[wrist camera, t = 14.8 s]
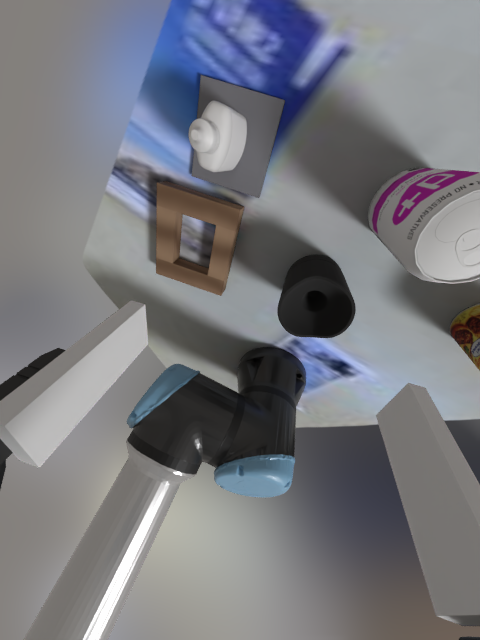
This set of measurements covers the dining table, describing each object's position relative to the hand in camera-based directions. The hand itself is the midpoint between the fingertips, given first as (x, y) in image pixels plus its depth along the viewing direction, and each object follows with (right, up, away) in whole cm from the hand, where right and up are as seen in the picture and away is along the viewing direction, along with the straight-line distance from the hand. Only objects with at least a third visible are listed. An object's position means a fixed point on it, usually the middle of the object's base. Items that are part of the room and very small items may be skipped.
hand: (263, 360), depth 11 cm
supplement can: (+19, +16, +17) cm, 31 cm away
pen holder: (+11, +9, +25) cm, 29 cm away
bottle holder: (-8, +15, +26) cm, 31 cm away
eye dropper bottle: (-2, +25, +17) cm, 30 cm away
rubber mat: (-2, +25, +17) cm, 30 cm away
